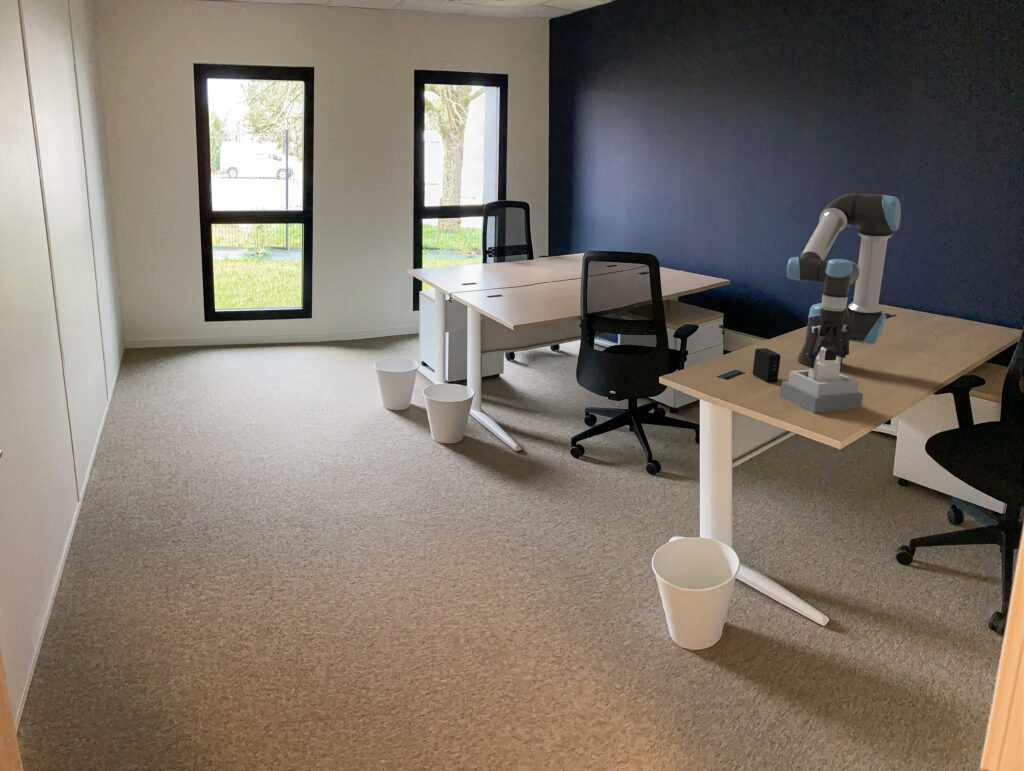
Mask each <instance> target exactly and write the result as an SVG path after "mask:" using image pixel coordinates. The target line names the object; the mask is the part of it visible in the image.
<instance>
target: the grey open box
mask: <svg viewBox="0 0 1024 771" xmlns="http://www.w3.org/2000/svg"><path fill="white" fill-rule="evenodd" d="M808 374H809V369H799V370H789V375H788V380H785V381H781V385H780V390H779V391H780V392H779V396H780V397H782V398H783V399H785V400H788V401H790V402H791V403H793V404H795V405H797V406H799V407H801V408H803V409H805V410H807V411H809V412H811V413H813V414H819V413H828V412H830V413H831V412H832V413H833V412H840V411H849V410H850V411H851V410H852V411H853V410H861V409H862V403H863V399H864V398H863V397H864V393H862V392H859V391H857V389H858V384H859V380H856V379H854V378H851V377H849V376H847V375H845V374H842V373H840V372H839V378H838V381H834V382H821V383H820V382H817V381H815V380H813V379H811V378H809V377H808Z"/></svg>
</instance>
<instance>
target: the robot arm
mask: <svg viewBox="0 0 1024 771" xmlns="http://www.w3.org/2000/svg"><path fill="white" fill-rule="evenodd" d="M901 218H902V208H901V202H900V199H899V198H898V197H896V196H891V195H887V194H874V193H873V194H871V193H867V194H866V193H857V192H856V193H853V192H852V193H847V194H844V195H842V196H839V197H837V198H836V199H834V200H832V201H831V202H830V203H829V204H827V205H826V206H825V207H824V208H823V210H822V211H821V213H820V215H819V220H818V224H817V227H816V228H815V230H814V232H813V233H812V235H811V236H810V238H809V240H808V242H807V243H806V246H805V247H804V249H803V251H802V252H801V254H800V256H792V257H789V259H788V261H787V265H786V277H787V278H788V279H789V280H795V281H799V282H810V283H817V284H824V285H823V291H822V292H823V293H822V297H821V302H819V303H814V304H813V305H811V306H810V308H809V313H808V316H807V326H806V332H805V339H804V340H805V341H804V343H803V346H802V348H801V350H800V352H799V353H798V357H797V362H798V363H800V364H802V365H804V366H807V367H808V370H809V374H808V377H810V378H812V379H815V378H816V371H817V364H818V359H816V357H817V355H818V354H819V352H820V350H821V348H822V347H831V348H834V349H836V350H837V356H836V362H835V363H836V364H838V365H839V366H840V367H842V365H843V359H846V356H848V355H849V354H850V342H855V343H860V344H868V345H874V344H876V343H878V341H879V339H880V337H881V335H882V333H883V329H884V327H885V325H886V320H887V318H886V317H887V314H885V313H882V311H883V307H882V306H881V305H880V304H879V301H880V295H881V287H882V281H883V274H884V267H885V266H884V265H885V258H886V254H887V246H888V239H890V238H891V237H892V236H893V235H894V232H895V231H898V230H899V228H900V225H901V224H900V223H901ZM846 227H852V228H857V234H858V235H859V237H860V238H861V241H860V247H859V255H858V261H857V262H858V264H857V263H855V262H853V261H851V260H848V259H844V258H833V259H832V258H831V259H829V260H825V259H826V257H827V255H828V254H829V251H830V250H831V248H832V246H833V244H834V243H835V241H836V239H837V237H838V235H839V234H840V232H841V231H843V230H844V229H845V228H846ZM853 284H855V285H854V294H853V301H852V302H851V303H849V304H848V299H849V290H850V286H851V285H853Z"/></svg>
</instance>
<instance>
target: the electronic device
mask: <svg viewBox="0 0 1024 771" xmlns="http://www.w3.org/2000/svg"><path fill="white" fill-rule="evenodd" d="M753 359H754V360H753V367H752V375H753V376H755V378H758V379H759V380H762V381H763V382H765V383H772V382H773V383H774V382H778V380H779V379H778V378H779V373H780V372H779V371H780V365H781V364H780V363H781V354H780V353H777V352H776V351H773V350H771V349H769V348H764V347H762V348H759V347H758V348H756V349H755V350H754V357H753Z"/></svg>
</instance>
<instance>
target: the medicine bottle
mask: <svg viewBox="0 0 1024 771" xmlns="http://www.w3.org/2000/svg"><path fill="white" fill-rule="evenodd" d="M836 356H837V350H836V349H834V348H831V347H822V348H821V350H820V352H819V354H818V355H817V357H816V359H818V364H817V371H816V378H815V379H813V380H815V381H817V382H820V383H821V382H834V381H838V378H839V373H840V371H841V366H839V365H838V364H836V363H835V362H836ZM809 378H810V377H809ZM811 379H812V378H811Z"/></svg>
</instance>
